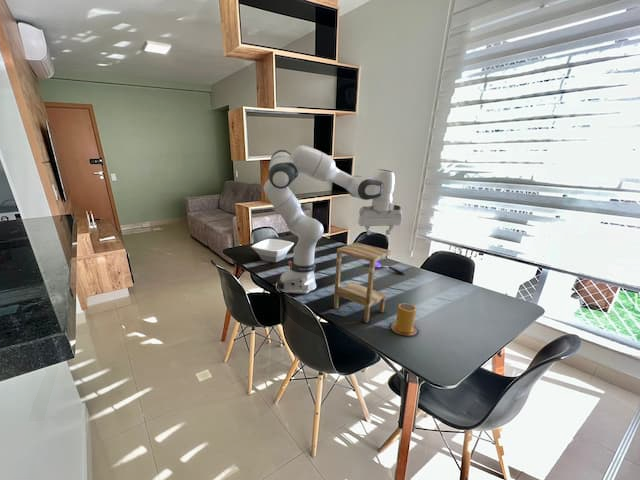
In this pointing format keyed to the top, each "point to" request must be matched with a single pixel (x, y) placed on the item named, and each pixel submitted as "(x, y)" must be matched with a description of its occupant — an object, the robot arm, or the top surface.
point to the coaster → (403, 332)
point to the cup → (405, 317)
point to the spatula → (388, 267)
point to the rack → (353, 290)
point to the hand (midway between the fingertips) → (378, 234)
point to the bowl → (272, 249)
